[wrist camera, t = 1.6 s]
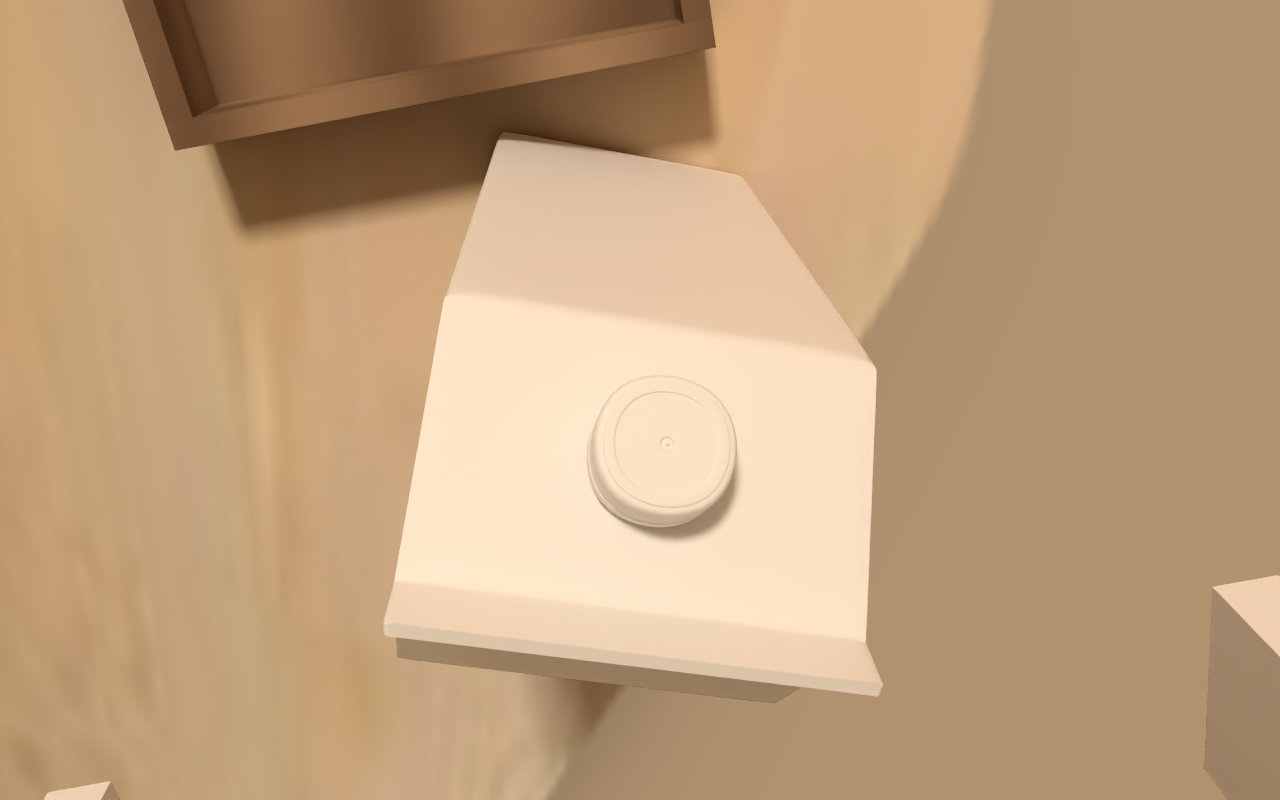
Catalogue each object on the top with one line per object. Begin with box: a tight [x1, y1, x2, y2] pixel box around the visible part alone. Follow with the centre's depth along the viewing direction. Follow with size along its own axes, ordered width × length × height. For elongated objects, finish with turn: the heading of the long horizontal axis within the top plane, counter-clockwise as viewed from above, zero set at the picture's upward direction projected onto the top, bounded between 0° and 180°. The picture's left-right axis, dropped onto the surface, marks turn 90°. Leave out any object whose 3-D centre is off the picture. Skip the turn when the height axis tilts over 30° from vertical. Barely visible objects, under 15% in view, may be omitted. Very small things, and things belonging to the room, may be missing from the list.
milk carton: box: [383, 132, 883, 703], centre depth 24 cm, size 7×7×19 cm
